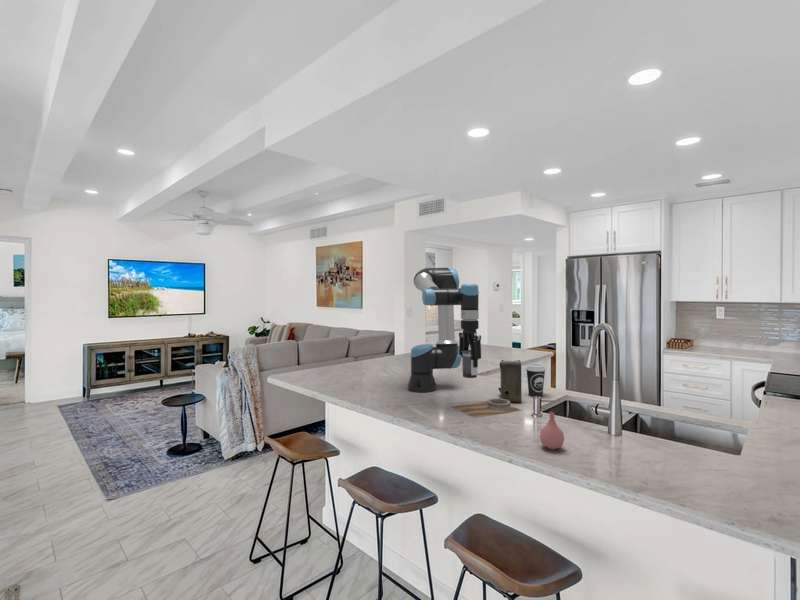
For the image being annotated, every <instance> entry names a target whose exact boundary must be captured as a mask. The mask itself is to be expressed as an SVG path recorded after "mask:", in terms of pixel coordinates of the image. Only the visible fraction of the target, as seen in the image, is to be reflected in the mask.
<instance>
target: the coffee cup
mask: <svg viewBox="0 0 800 600" xmlns="http://www.w3.org/2000/svg"><path fill="white" fill-rule="evenodd" d="M525 370H526V379H527V387H528V388H527V390H528V396H530V397H532V398H535V397H534V396H541V397H540V398H543V396H544V386H545V385H544V383H545V374H546V371H547V369H546V367H545V365H544V364H540V363H528V364H527V365H526V367H525Z"/></svg>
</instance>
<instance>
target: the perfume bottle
mask: <svg viewBox="0 0 800 600" xmlns="http://www.w3.org/2000/svg"><path fill="white" fill-rule="evenodd" d="M539 433H540V435H539V439H540V443H541V445H542V446H544V447H546V448H548V450H553V451H554V450H556V449H561V448H563V445H564V441H565V435H564V431H563V430H562V429H561V428H560V427H559V426H558V424H557V422H556V420H555V412H553V411H549V420H547V423H546V425H545V426H543V428H541V429H540V432H539Z"/></svg>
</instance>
